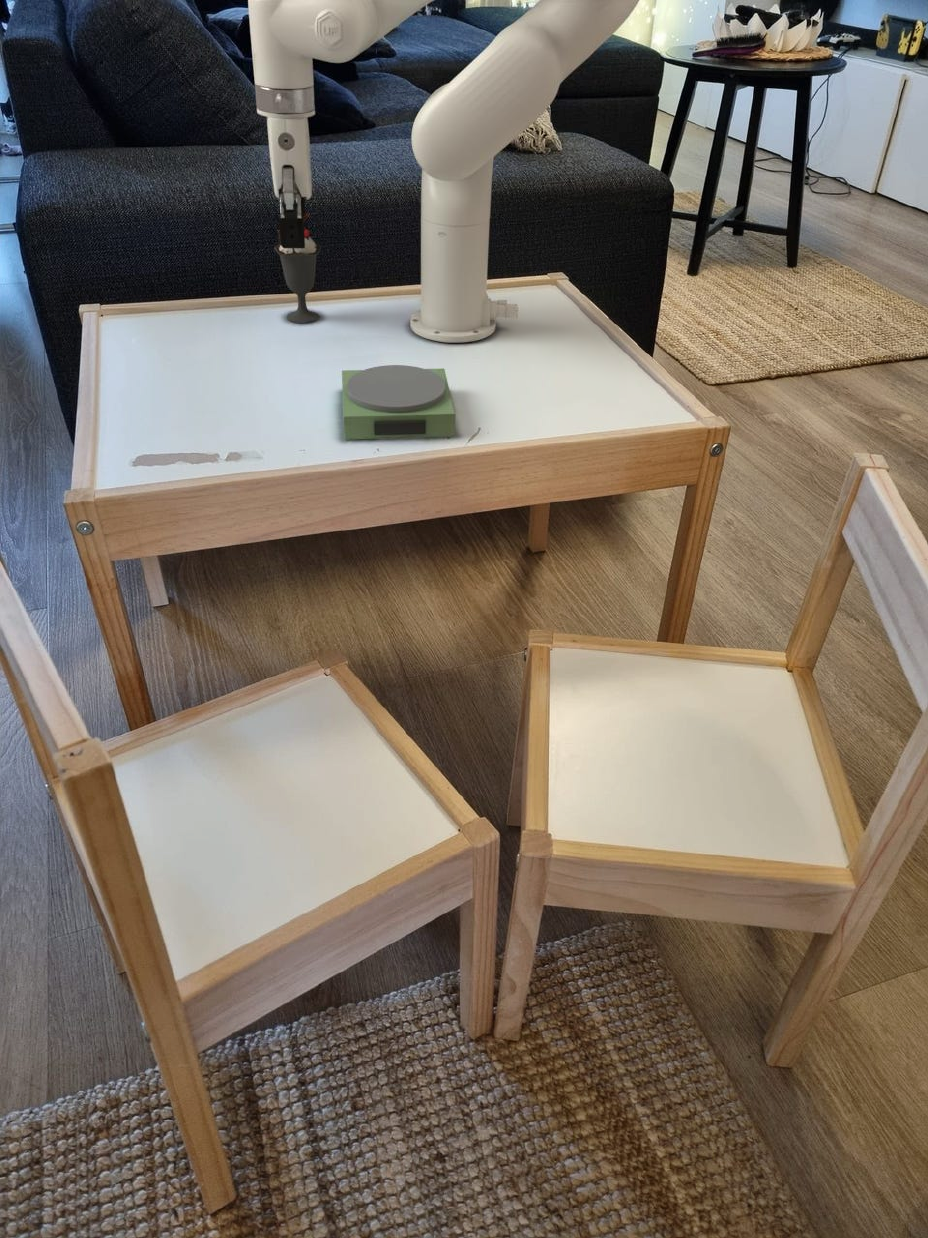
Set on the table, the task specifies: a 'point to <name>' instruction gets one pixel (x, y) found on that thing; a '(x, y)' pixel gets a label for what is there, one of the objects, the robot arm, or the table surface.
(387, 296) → the table surface
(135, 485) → the table surface
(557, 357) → the table surface
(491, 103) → the robot arm
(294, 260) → the sundae
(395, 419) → the scale
